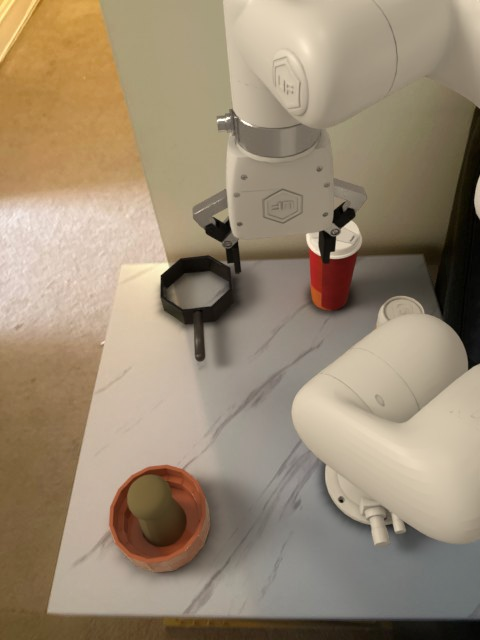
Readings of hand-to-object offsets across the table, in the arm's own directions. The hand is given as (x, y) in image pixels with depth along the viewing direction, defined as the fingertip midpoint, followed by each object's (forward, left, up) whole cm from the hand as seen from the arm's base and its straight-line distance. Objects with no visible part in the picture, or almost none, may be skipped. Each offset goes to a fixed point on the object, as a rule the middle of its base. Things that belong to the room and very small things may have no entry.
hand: (280, 259), depth 62 cm
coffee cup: (+17, -10, -28) cm, 35 cm away
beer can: (+1, -16, -28) cm, 33 cm away
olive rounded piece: (-18, +18, -28) cm, 38 cm away
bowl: (-18, +18, -28) cm, 38 cm away
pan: (+16, +12, -28) cm, 35 cm away
